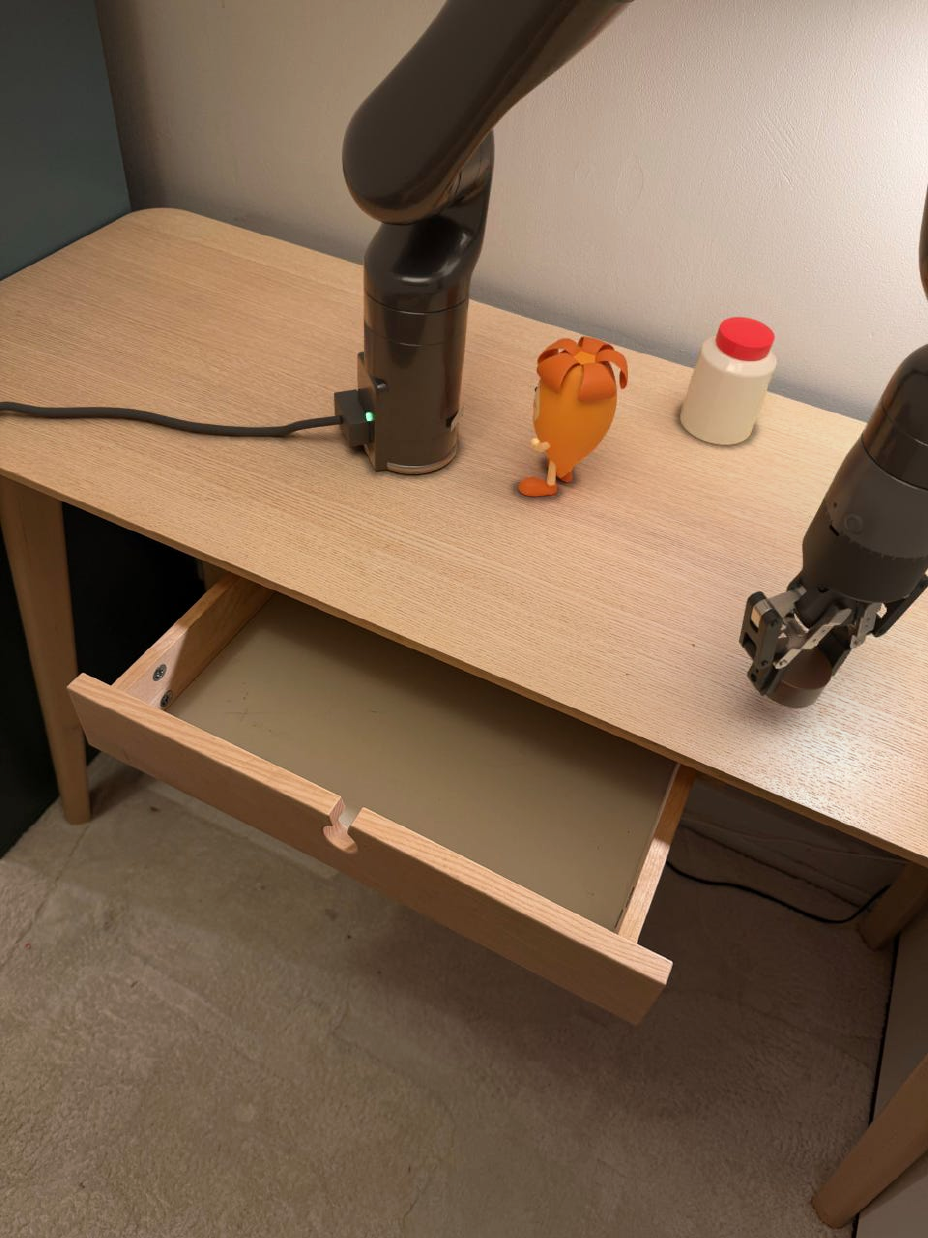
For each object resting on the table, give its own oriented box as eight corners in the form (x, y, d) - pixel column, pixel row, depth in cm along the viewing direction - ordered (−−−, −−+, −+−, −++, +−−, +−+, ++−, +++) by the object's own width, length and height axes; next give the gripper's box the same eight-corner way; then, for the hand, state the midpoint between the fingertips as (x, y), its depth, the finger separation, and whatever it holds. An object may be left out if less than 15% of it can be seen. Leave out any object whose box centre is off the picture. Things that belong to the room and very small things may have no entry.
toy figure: (558, 441, 94) (584, 308, 82) (624, 475, 91) (660, 342, 80) (491, 498, 87) (509, 362, 76) (560, 537, 84) (590, 402, 73)
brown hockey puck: (778, 715, 67) (789, 696, 65) (742, 664, 70) (752, 644, 68) (833, 699, 68) (846, 680, 67) (795, 650, 71) (807, 630, 70)
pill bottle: (761, 419, 99) (797, 328, 91) (736, 454, 95) (771, 362, 86) (696, 392, 101) (725, 302, 93) (668, 426, 97) (696, 334, 89)
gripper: (939, 454, 60) (837, 621, 73) (757, 491, 56) (683, 661, 69) (1019, 530, 56) (895, 693, 69) (829, 576, 52) (735, 741, 65)
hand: (789, 676), depth 69 cm, fingers closed on brown hockey puck, 5 cm apart
